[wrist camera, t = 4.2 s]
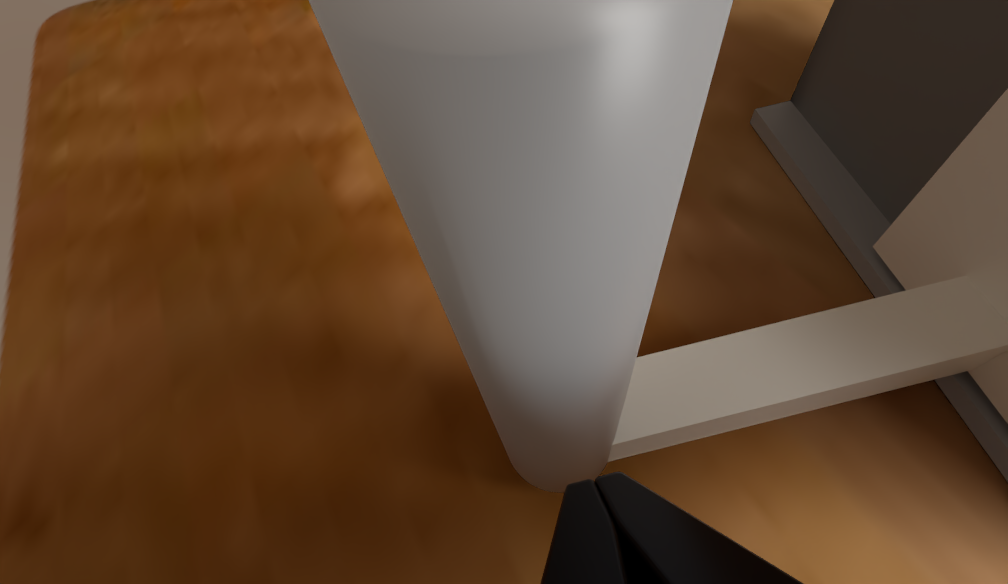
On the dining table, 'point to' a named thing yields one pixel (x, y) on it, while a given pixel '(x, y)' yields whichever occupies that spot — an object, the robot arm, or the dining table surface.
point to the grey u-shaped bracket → (633, 227)
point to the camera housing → (891, 133)
